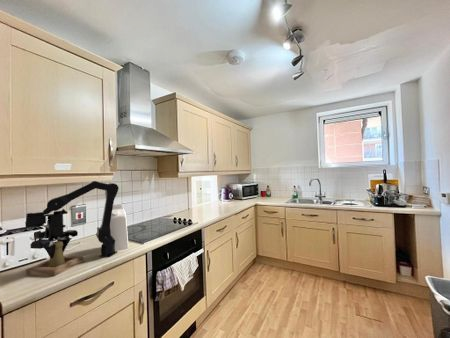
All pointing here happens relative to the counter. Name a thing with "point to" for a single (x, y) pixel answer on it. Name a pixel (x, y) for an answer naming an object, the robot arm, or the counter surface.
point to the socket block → (45, 270)
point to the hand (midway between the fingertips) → (56, 256)
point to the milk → (119, 227)
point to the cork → (57, 255)
